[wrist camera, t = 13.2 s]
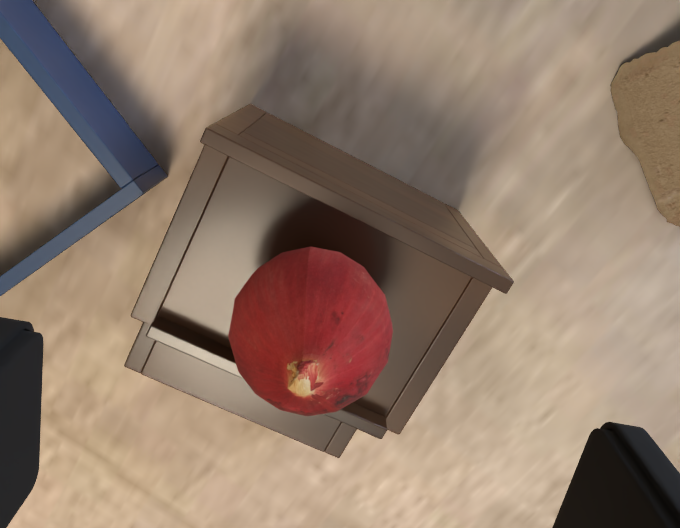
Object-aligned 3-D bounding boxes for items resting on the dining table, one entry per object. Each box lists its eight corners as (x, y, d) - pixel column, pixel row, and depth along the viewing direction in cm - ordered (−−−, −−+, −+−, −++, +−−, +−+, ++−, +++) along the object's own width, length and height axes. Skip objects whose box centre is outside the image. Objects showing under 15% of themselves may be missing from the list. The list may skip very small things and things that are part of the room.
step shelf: (339, 414, 39) (339, 554, 28) (147, 330, 37) (68, 445, 26) (459, 210, 35) (514, 281, 24) (249, 103, 33) (206, 127, 22)
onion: (410, 310, 26) (441, 416, 18) (298, 378, 27) (283, 505, 19) (333, 197, 24) (331, 262, 17) (217, 274, 25) (166, 368, 18)
